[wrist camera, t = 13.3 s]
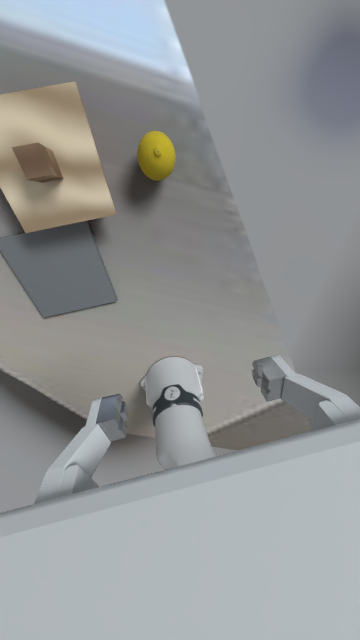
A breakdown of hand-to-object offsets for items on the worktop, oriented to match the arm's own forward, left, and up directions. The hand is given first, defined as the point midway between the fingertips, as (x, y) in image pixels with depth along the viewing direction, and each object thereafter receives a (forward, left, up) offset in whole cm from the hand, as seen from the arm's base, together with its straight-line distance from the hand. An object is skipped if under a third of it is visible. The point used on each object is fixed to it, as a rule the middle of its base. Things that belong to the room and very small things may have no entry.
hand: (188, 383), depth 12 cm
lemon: (+15, -3, -33) cm, 37 cm away
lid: (+16, +12, -28) cm, 34 cm away
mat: (+1, +19, -33) cm, 38 cm away
